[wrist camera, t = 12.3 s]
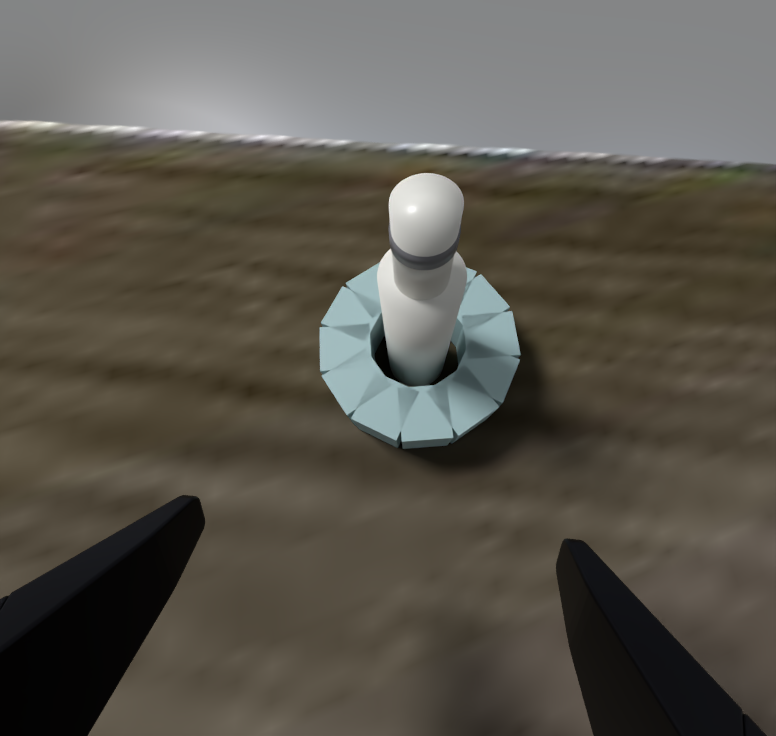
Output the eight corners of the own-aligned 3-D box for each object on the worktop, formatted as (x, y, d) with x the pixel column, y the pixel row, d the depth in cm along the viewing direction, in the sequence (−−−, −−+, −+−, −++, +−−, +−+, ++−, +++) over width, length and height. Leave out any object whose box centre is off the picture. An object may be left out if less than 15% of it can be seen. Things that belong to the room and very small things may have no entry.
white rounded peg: (424, 397, 21) (446, 273, 9) (378, 368, 22) (342, 218, 10) (454, 353, 22) (508, 186, 10) (408, 326, 22) (408, 140, 11)
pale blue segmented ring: (517, 440, 20) (535, 431, 17) (333, 454, 20) (321, 447, 17) (488, 278, 23) (500, 249, 20) (329, 292, 23) (319, 265, 21)
